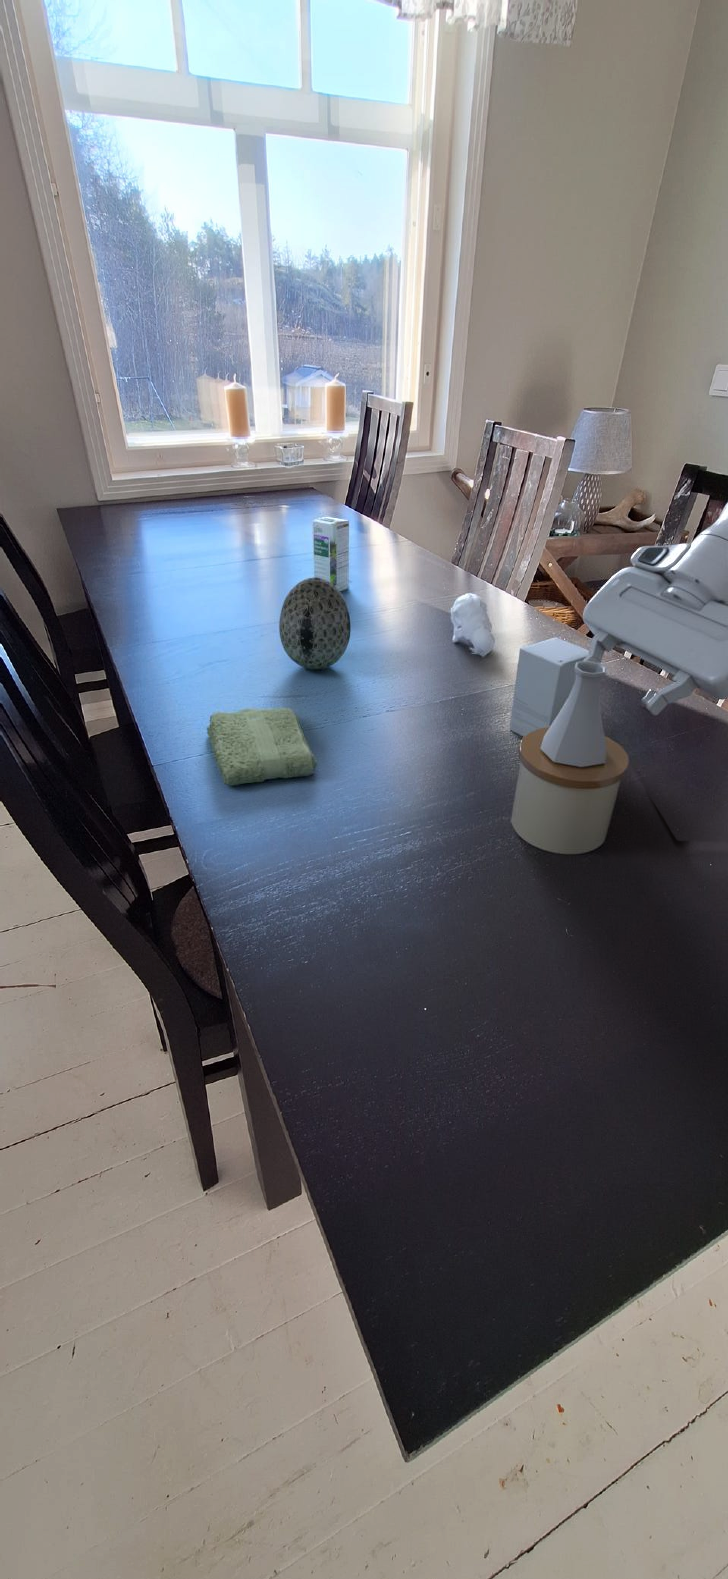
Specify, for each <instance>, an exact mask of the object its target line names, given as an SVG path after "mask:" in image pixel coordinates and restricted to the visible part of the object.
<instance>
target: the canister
mask: <svg viewBox="0 0 728 1579" xmlns="http://www.w3.org/2000/svg"><path fill="white" fill-rule="evenodd" d="M549 728H550V727H546V728H541V729H537V730H535V731H532V732H530V733H529V734H527V735H526V736H525V737H522V739H521V740H520V743H519V748H518V758H519V764H518V772H517V778H516V784H515V790H514V795H513V796H514V797H513V803H512V809H511V814H510V822H511V826H512V829H514V832H515V833H516V834H517V836H519V837H520V838H521V839H522V840H524V841H525V842H526V843H528V844H529V845H531V846H532V847H533V846H534V848H537V849H540V850H543V851H546V852H550V853H554V854H560V855H580V854H586V853H589V852H592V851H594V850H597V848H599V847H601V845H603V844H604V842H605V841H606V839H607V837H608V836H607V835H608V832H609V828H610V825H611V821H612V817H613V812H614V810H615V805H616V802H617V798H618V793H619V790H620V786H621V782H622V780H623V779H624V777H625V776H626V774H627V771H628V768H629V764H630V759H629V755H628V753H627V751H626V750H625V749H624V747H623V746H622V745H620V744H619V743H618V742H617V741H615V740H613V739H612V738H610V737H609V736H606V735H605V741H606V747H607V753H606V760H605V763H603V764H597V765H591V766H585V767H578V766H573V765H568V764H562V763H557V762H553V761H552V760H551V759H550V758H549V757H548V756H547V755H546V754H545V753H544V752H543V751H542V750H541V749H540V748H541V745H542V742H543V738H544V736H545V734H546V732H547V731H548V729H549Z"/></svg>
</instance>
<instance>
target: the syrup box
mask: <svg viewBox="0 0 728 1579" xmlns="http://www.w3.org/2000/svg"><path fill="white" fill-rule="evenodd" d="M312 550H313V552H312V555H313V556H312V557H313V577H316V578H322V579H324V580H327V581H329V582H330V583H332V584H333V585H334V586H335V587H336V588H337V589H338V590H339V592H340V593H341V592H342V591H345V590H347V589H349V587H350V581H349V580H350V519H342V518H337V517H331V516H322V517H319V518H316V519H314V520H312Z"/></svg>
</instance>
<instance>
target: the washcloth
mask: <svg viewBox="0 0 728 1579" xmlns="http://www.w3.org/2000/svg"><path fill="white" fill-rule="evenodd" d="M300 724H301V722H300V719H299V718H298V715H297V712H296V711H295V710H294V709H292V708H288V707H276V708H244V709H240V710H239V711H234V712H233V711H232V712H227V711H216V712H213V713H212V715H210V716H209V725H208V726H207V727H206V734H207V736H208V738H209V742H210V745H211V748H212V753H213V756H214V760H215V762H216V767H217V768H218V771H219V773H220V775H221V777H222V781H223V783H224V784H225V785H227V786H228V787H233V786H238V785H242V784H247V783H248V784H249V783H250V784H251V783H262V782H264V781H265V780H271V779H278V778H282V779H290V778H298V777H308V776H309V775H313V774H314V773H315V770H314V769H316V768H317V766H318V761H317V760H316V758H315V756H314V753H313V751H312V750H311V748H310V745H309V743H308V740H307V739H306V737H305V735H304V732H303V730H302V726H300Z"/></svg>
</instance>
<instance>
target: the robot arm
mask: <svg viewBox="0 0 728 1579" xmlns="http://www.w3.org/2000/svg"><path fill="white" fill-rule="evenodd" d="M630 563H631V566H627V567H624V568H622V569H621V570H619V571H617V572H616V573H615V574H613V575H612V576H611V578H609V579H608V580H607V582H606V583H604V584H603V586H601V588H600V589H599V590H598V591H597V592H596V593H595V594H594V595H593V597H592V598H591V599H590V600H589V601H588V603H587V604H586V605H585V607H584V608H583V612H582V621H583V622H584V624H585V625H586V627H587V628H588V629H589V631H590V632H591V633H592V634H593V635H594V636H592V639H591V642H590V645H589V648H588V649H589V653H588V654H589V655H588V656H587V657H586V658H585V659H584V660H583V661H591V662H598V663H601V664H602V660H603V658H604V655H605V652H607V653H610V652H611V651H612V650H613V649H614V648H615V646H616V647H618V648H620V649H622V650H623V651H625V652H627V653H629V654H631V655H633V656H635V657H637V658H638V659H640V660H643V661H645V662H646V663H649V664H651V665H653V666H654V667H657V668H658V669H659V670H662V671H664V672H666V673H668V674H670V675H672V676H673V677H672V681H673V683H670V684H669V685H667V686H664V687H662V688H661V689H660V690H654V689H652V688H650V689H649V690H648V691H647V692H646V694H645V696H642V698H641V699H640V701H639V704H640V706H641V707H642V709H644V710H645V711H647V712H648V713H650V714H652V715H653V716H657V715H659V713H661V712H662V711H663V710H664V709H665V707H667V705H670V704H673V703H675V702H678V701H680V700H683V699H685V698H687V697H689V696H691V695H692V694H693V692H695V690H696V689H699V690H701V691H702V692H704V693H706V694H709V695H711V696H712V697H715V698H716V699H718V700H720V701H721V700H722V701H723V700H727V699H728V502H727V503H725V506H724V507H723V509H722V510H721V513H720V515H719V517H718V518H717V519H716V520H715V522H713V524H711V525H710V526H709V527H707V528H705V529H704V530H702V531H701V532H700V533H699V534H698V535H697V536H696V537H695V538H694V539H693V540H692V542H689V543H688V542H684V543H678V544H667V545H643V546H640V547H639V548H637V549H636V550H635V552H634V553H632V555H631V557H630ZM583 661H582V662H583Z"/></svg>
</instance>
